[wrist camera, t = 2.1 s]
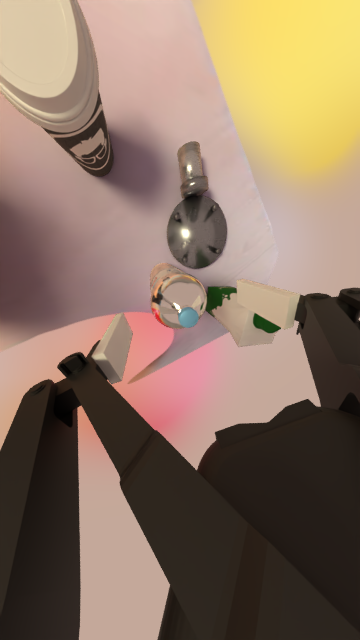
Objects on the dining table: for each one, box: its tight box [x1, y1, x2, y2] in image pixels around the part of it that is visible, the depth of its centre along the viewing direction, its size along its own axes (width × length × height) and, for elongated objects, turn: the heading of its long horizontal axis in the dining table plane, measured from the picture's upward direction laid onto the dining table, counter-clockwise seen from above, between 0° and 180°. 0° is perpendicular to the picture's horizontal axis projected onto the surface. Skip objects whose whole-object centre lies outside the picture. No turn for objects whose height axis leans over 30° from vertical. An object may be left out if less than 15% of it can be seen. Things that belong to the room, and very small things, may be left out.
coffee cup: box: [0, 0, 113, 176], centre depth 16 cm, size 10×10×15 cm
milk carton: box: [205, 287, 281, 347], centre depth 31 cm, size 9×9×20 cm
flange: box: [167, 141, 227, 268], centre depth 28 cm, size 14×20×5 cm
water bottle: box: [150, 263, 207, 329], centre depth 23 cm, size 7×7×25 cm
